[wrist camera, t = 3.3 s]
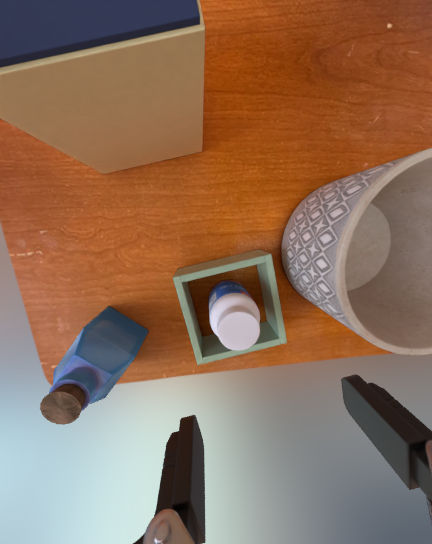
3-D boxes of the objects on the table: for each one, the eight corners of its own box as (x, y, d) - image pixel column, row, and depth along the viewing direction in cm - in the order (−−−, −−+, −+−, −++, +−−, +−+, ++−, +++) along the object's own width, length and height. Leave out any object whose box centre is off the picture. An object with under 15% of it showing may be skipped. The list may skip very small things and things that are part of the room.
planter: (357, 152, 26) (496, 87, 14) (414, 254, 30) (566, 274, 17) (253, 236, 28) (296, 243, 15) (318, 325, 31) (397, 390, 19)
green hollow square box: (198, 343, 30) (197, 365, 25) (177, 268, 28) (172, 277, 23) (273, 324, 31) (287, 342, 26) (259, 249, 28) (271, 253, 23)
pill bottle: (252, 284, 29) (277, 312, 20) (241, 319, 30) (259, 363, 20) (213, 274, 28) (219, 298, 19) (203, 311, 29) (204, 352, 20)
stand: (102, 174, 25) (-60, 87, 9) (64, 54, 22) (-253, -346, 7) (202, 151, 25) (205, 29, 10) (175, 30, 23) (119, -410, 7)
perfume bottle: (148, 330, 29) (114, 399, 18) (124, 363, 30) (75, 450, 18) (109, 305, 28) (44, 361, 17) (84, 340, 29) (6, 417, 17)
